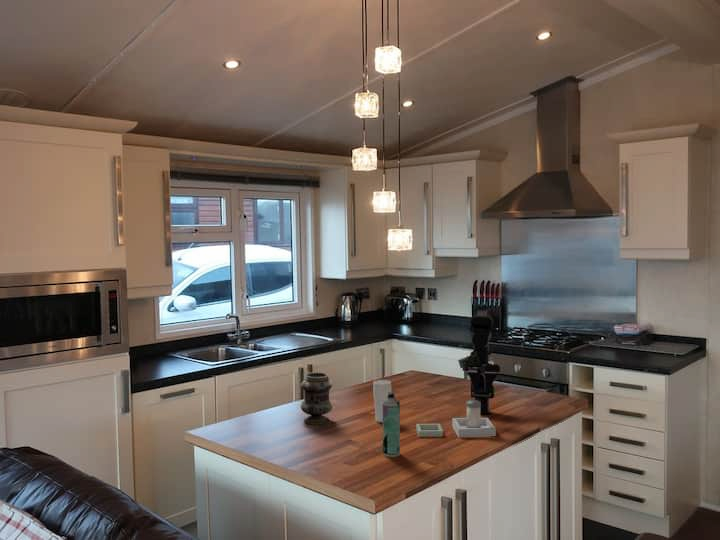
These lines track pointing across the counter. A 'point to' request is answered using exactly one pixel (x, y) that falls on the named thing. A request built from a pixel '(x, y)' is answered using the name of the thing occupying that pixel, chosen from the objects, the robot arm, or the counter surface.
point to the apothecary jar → (316, 397)
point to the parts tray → (464, 432)
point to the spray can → (391, 426)
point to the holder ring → (429, 430)
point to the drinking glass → (380, 397)
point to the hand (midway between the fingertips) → (480, 391)
